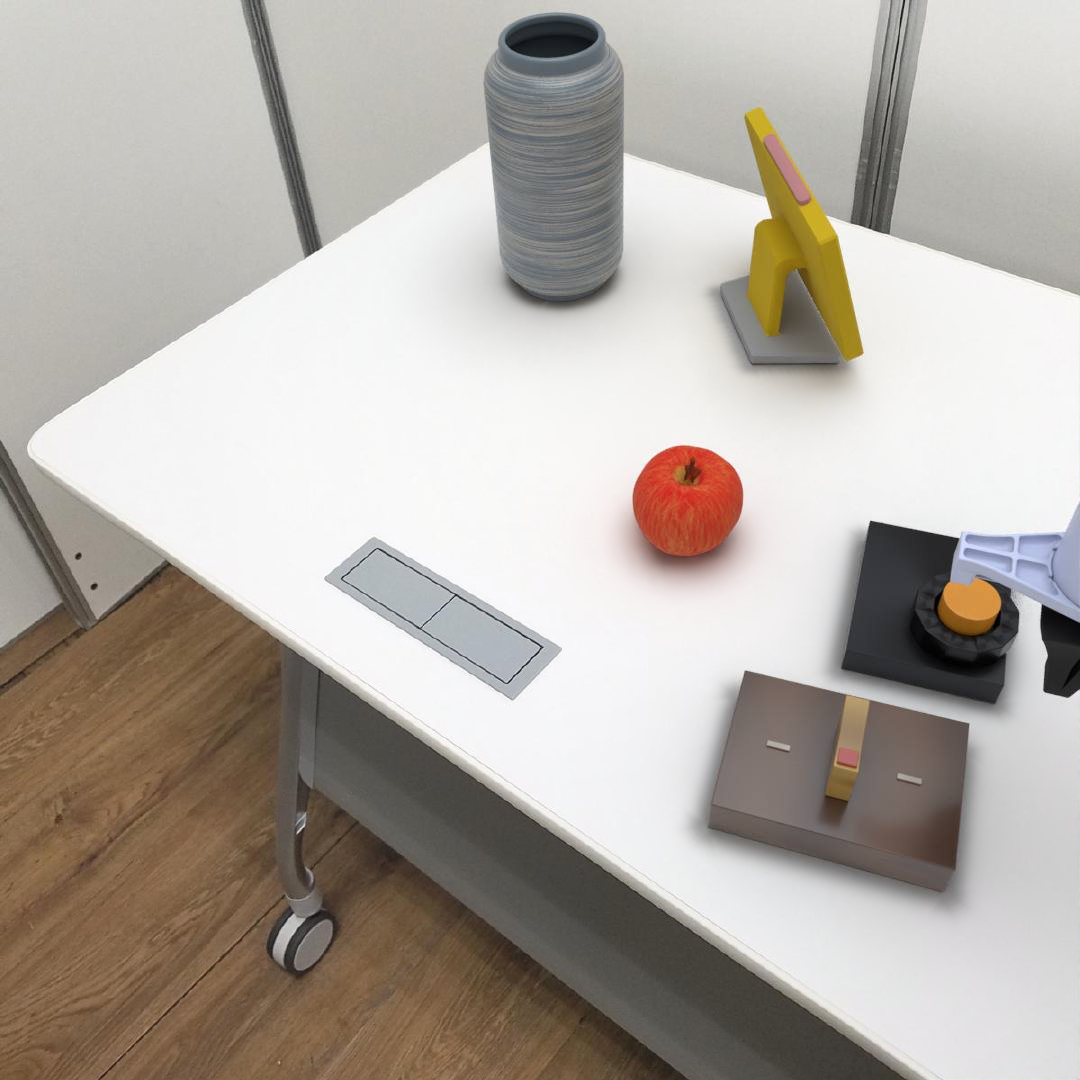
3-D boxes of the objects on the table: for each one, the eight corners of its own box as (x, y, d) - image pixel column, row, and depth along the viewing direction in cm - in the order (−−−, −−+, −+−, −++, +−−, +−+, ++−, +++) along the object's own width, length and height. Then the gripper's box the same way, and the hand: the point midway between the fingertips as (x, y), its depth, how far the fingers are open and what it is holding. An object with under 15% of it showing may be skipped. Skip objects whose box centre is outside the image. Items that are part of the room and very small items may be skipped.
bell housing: (1009, 569, 79) (1025, 532, 76) (999, 705, 72) (1015, 670, 69) (864, 539, 82) (874, 503, 79) (840, 668, 74) (850, 633, 71)
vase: (509, 238, 110) (489, 4, 92) (625, 239, 108) (627, 2, 91) (495, 310, 102) (470, 70, 85) (620, 312, 101) (620, 69, 84)
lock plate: (958, 747, 70) (970, 721, 68) (943, 892, 64) (956, 869, 61) (740, 695, 73) (745, 668, 71) (707, 827, 67) (710, 803, 65)
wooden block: (837, 725, 68) (846, 692, 65) (860, 730, 68) (871, 697, 65) (824, 795, 65) (833, 763, 62) (848, 801, 65) (859, 770, 62)
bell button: (996, 599, 73) (1003, 582, 72) (992, 641, 71) (999, 625, 69) (940, 587, 74) (945, 571, 72) (934, 629, 72) (940, 613, 70)
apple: (700, 480, 86) (707, 405, 80) (759, 548, 82) (770, 473, 76) (612, 517, 84) (612, 443, 78) (666, 589, 80) (670, 515, 73)
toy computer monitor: (857, 387, 93) (892, 224, 81) (766, 400, 92) (789, 239, 80) (786, 252, 106) (807, 95, 94) (706, 263, 105) (718, 107, 93)
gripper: (974, 544, 50) (913, 705, 60) (1333, 620, 46) (1203, 778, 56) (987, 441, 54) (928, 608, 64) (1317, 502, 50) (1198, 669, 61)
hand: (1057, 680), depth 61 cm, fingers closed
